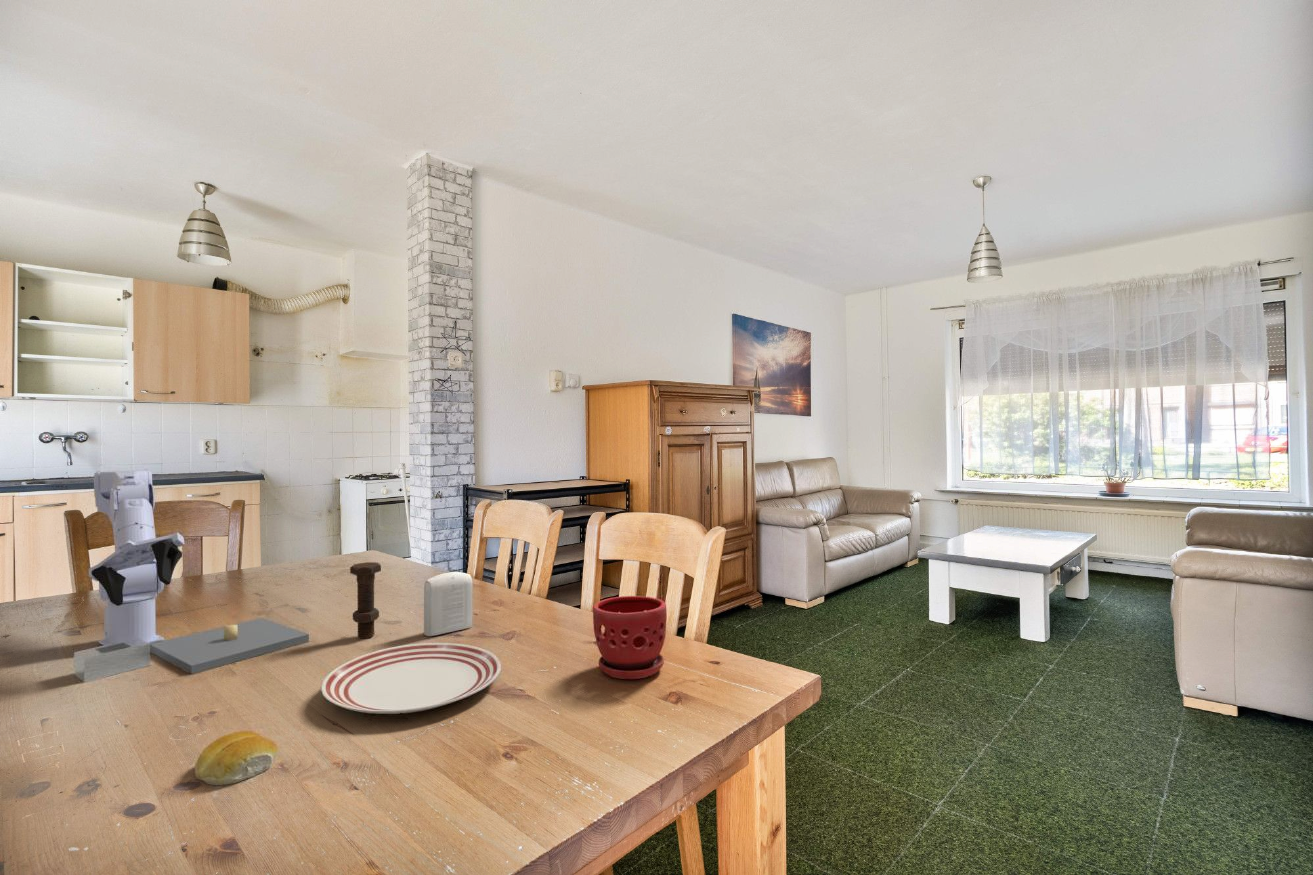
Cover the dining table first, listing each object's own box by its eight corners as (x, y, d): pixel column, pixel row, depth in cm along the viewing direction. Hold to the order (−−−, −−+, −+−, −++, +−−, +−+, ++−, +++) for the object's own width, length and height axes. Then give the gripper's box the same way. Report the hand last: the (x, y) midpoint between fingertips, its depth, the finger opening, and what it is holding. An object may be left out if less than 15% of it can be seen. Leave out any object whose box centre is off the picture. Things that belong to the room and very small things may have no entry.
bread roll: (253, 744, 83) (253, 715, 83) (287, 764, 78) (287, 733, 78) (181, 773, 76) (181, 741, 76) (213, 796, 72) (213, 762, 71)
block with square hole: (74, 675, 107) (74, 652, 107) (139, 659, 114) (138, 637, 114) (84, 682, 104) (84, 658, 104) (150, 665, 111) (150, 643, 111)
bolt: (367, 642, 123) (367, 568, 123) (345, 640, 124) (345, 567, 124) (385, 633, 129) (385, 562, 129) (364, 631, 130) (364, 561, 130)
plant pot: (677, 662, 112) (677, 597, 112) (646, 690, 100) (646, 617, 100) (615, 652, 118) (615, 590, 118) (579, 676, 106) (578, 607, 106)
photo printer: (466, 623, 136) (466, 567, 135) (475, 627, 132) (475, 570, 132) (420, 633, 128) (420, 575, 128) (429, 638, 125) (429, 578, 125)
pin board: (149, 651, 118) (149, 631, 118) (262, 624, 135) (261, 606, 135) (191, 674, 107) (191, 651, 107) (308, 641, 124) (308, 621, 124)
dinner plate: (531, 669, 110) (531, 651, 110) (427, 743, 84) (427, 719, 84) (407, 651, 119) (407, 634, 118) (278, 713, 93) (278, 691, 93)
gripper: (75, 541, 110) (76, 603, 103) (165, 506, 115) (172, 562, 108) (103, 559, 116) (106, 619, 109) (187, 525, 120) (195, 580, 113)
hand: (141, 592), depth 109 cm, fingers open, 7 cm apart
